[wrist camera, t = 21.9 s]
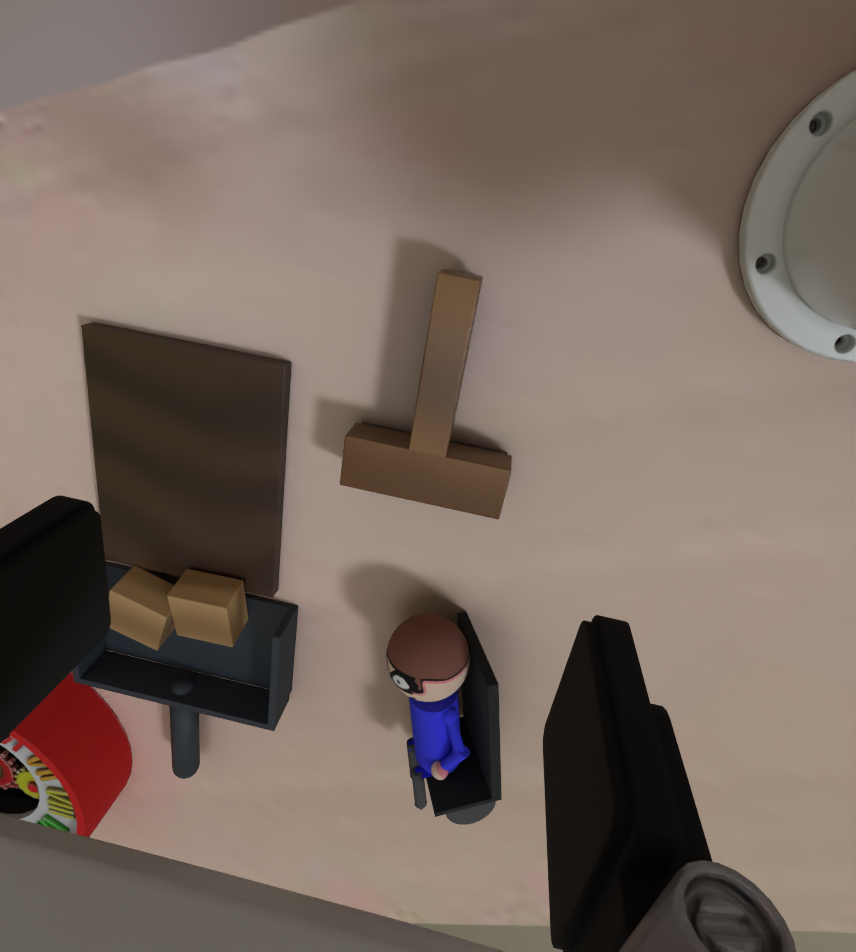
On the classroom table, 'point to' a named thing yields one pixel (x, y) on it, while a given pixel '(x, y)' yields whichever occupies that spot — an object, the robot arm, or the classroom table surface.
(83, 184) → the classroom table surface
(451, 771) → the character figurine
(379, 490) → the brush
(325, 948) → the robot arm
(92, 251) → the classroom table surface
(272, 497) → the tray
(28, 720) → the toy clock
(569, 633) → the classroom table surface
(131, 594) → the cork chip
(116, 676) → the dustpan
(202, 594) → the cork chip
